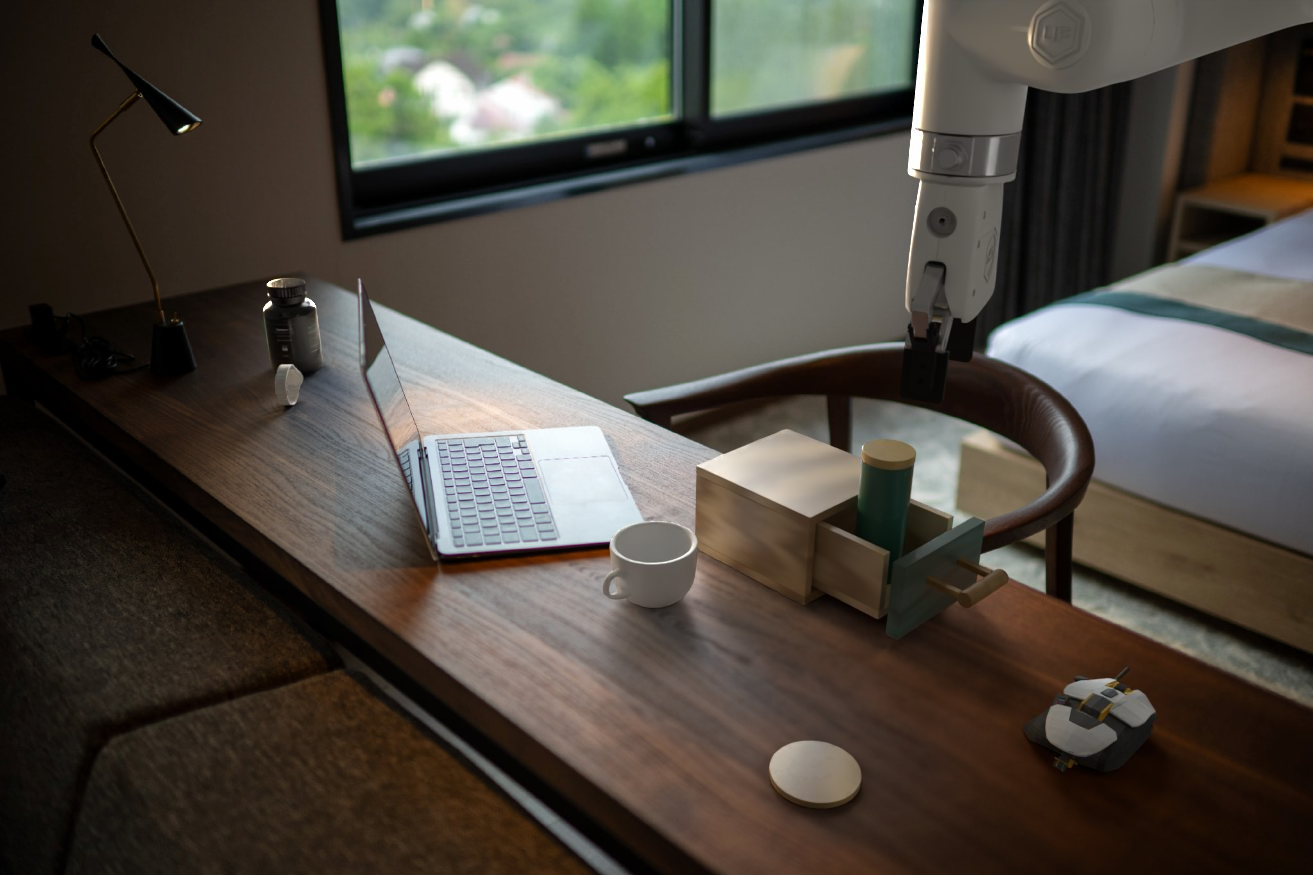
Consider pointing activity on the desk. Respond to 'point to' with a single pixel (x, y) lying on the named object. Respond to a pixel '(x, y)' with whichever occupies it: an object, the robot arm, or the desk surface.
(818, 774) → the coaster
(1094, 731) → the computer mouse
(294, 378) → the white thick rounded piece
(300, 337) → the supplement bottle
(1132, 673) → the desk surface
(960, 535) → the drawer
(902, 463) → the tin
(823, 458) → the cabinet
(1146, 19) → the robot arm
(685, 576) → the teacup
